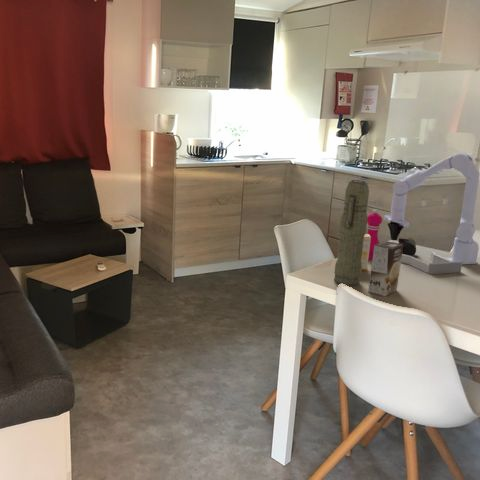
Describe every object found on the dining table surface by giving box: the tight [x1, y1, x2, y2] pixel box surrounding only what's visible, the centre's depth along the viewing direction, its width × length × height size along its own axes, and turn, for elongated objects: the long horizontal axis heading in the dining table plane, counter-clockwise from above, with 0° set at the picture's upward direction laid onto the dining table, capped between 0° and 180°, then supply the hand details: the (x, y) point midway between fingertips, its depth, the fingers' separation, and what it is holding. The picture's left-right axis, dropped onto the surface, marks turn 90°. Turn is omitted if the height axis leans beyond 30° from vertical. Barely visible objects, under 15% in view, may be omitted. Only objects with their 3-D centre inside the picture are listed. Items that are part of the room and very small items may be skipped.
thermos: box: [333, 179, 370, 287], centre depth 182 cm, size 9×12×35 cm
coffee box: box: [367, 240, 403, 297], centre depth 178 cm, size 9×6×16 cm
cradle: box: [401, 251, 463, 275], centre depth 211 cm, size 18×17×4 cm
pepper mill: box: [366, 209, 383, 261], centre depth 215 cm, size 7×7×20 cm
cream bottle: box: [361, 233, 371, 271], centre depth 201 cm, size 8×5×13 cm, turn 84°
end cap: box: [398, 237, 417, 257], centre depth 224 cm, size 10×7×7 cm
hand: (393, 239), depth 231 cm, fingers closed
